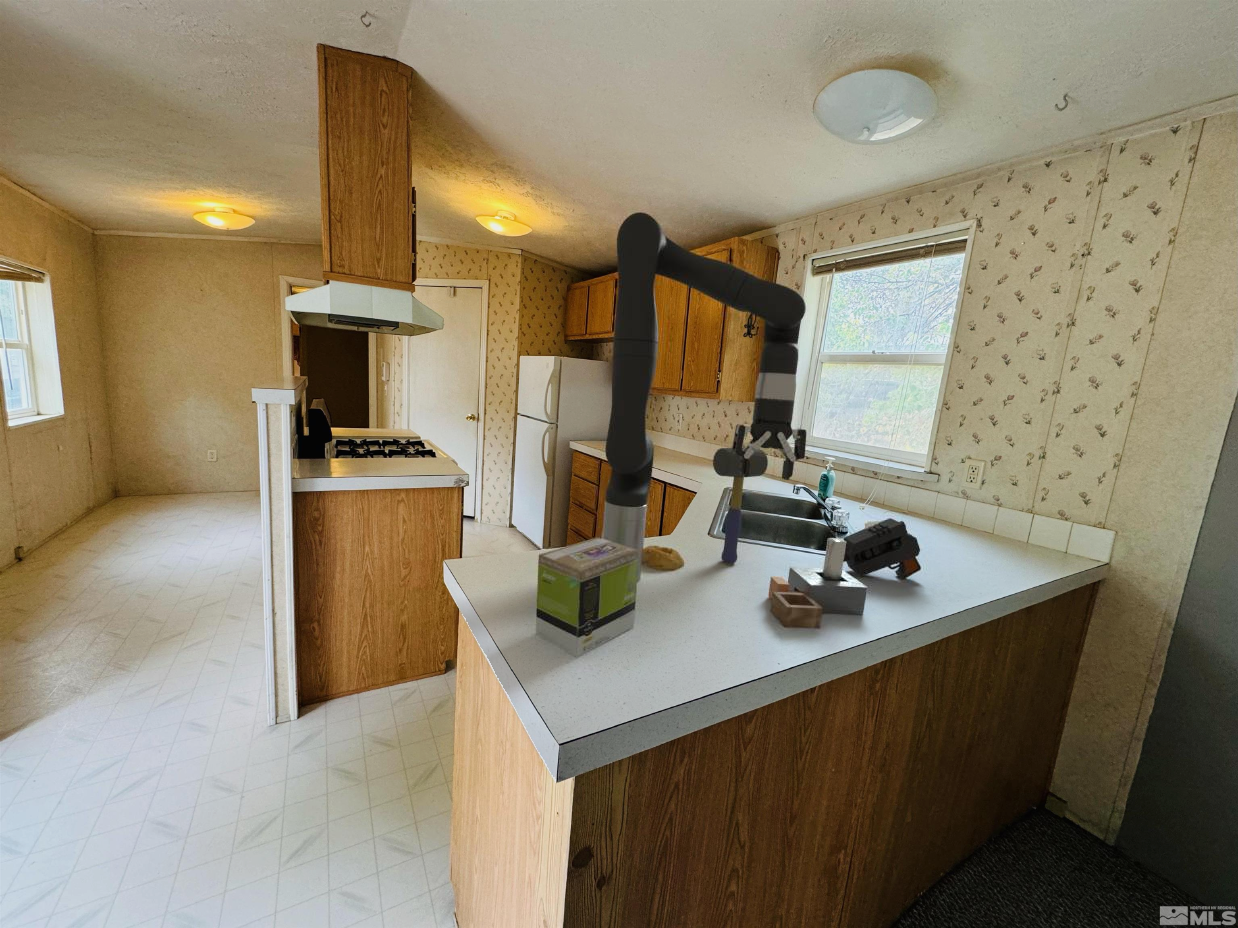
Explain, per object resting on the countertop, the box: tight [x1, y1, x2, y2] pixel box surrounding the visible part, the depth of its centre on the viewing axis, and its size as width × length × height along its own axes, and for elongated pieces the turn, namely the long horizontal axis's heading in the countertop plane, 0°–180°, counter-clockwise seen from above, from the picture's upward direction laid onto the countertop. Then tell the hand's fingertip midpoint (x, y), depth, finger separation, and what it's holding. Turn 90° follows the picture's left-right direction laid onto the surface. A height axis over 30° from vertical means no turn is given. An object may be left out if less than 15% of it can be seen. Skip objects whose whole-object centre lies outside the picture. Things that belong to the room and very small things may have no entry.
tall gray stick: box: [822, 537, 846, 582], centre depth 104 cm, size 4×4×14 cm
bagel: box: [642, 545, 685, 571], centre depth 121 cm, size 10×11×5 cm
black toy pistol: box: [843, 517, 922, 580], centre depth 125 cm, size 6×19×15 cm, turn 89°
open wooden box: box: [769, 592, 823, 629], centre depth 96 cm, size 7×7×4 cm
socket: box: [787, 566, 868, 616], centre depth 105 cm, size 12×10×6 cm
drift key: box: [767, 576, 801, 600], centre depth 104 cm, size 9×4×4 cm, turn 95°
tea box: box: [535, 536, 639, 658], centre depth 84 cm, size 15×10×15 cm, turn 141°
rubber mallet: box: [712, 446, 769, 566], centre depth 123 cm, size 12×8×30 cm, turn 113°
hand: (765, 477), depth 100 cm, fingers open, 8 cm apart
